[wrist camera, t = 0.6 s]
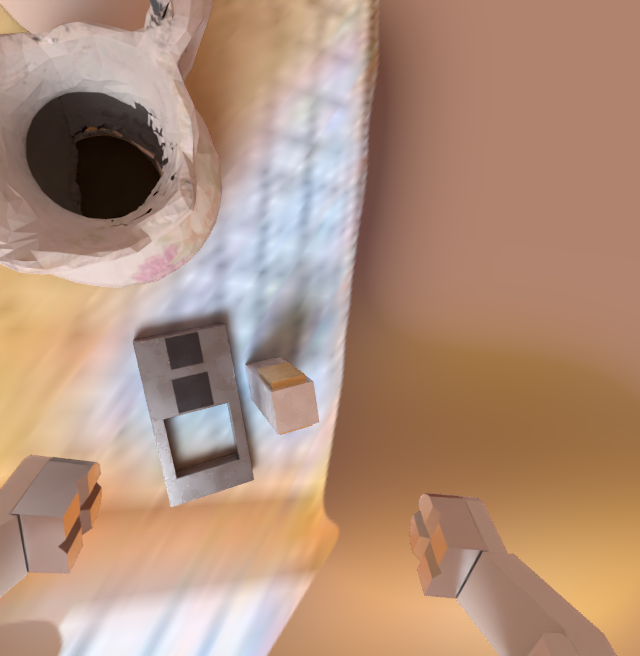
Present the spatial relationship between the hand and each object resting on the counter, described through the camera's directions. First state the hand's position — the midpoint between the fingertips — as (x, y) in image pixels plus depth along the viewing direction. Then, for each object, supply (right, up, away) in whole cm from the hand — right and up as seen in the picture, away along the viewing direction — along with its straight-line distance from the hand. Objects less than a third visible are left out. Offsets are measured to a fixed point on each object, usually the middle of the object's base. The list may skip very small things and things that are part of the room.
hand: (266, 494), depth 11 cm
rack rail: (-14, -6, +40) cm, 43 cm away
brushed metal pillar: (-6, -2, +43) cm, 43 cm away
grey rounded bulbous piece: (-20, +20, +34) cm, 44 cm away
